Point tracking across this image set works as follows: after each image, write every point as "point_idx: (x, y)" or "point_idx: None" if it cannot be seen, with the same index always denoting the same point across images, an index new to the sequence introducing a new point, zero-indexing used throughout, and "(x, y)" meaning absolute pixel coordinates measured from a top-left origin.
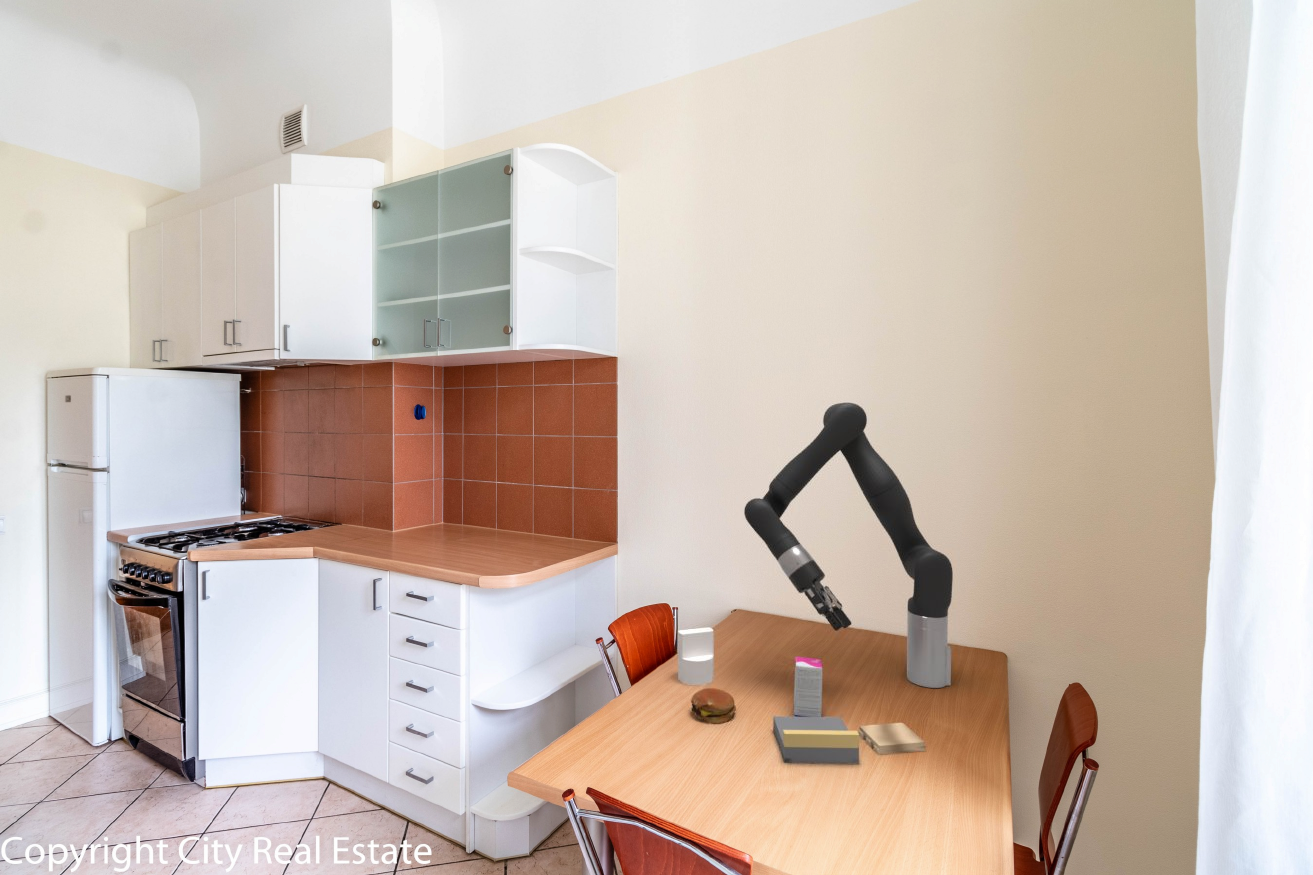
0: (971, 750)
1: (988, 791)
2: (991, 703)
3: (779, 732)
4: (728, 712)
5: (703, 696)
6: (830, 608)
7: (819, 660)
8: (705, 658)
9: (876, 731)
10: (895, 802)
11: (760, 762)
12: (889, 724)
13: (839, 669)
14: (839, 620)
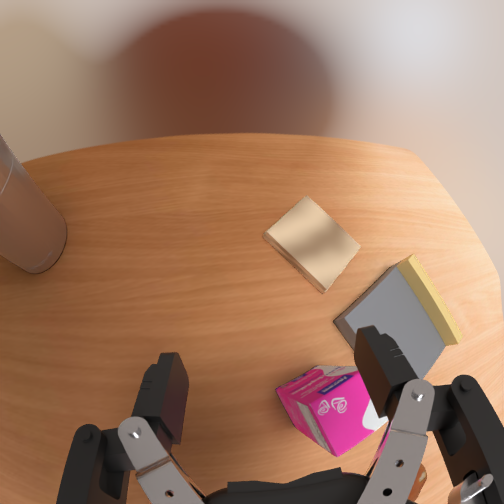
0: (259, 155)
1: (336, 145)
2: (92, 151)
3: (431, 365)
4: None
5: (416, 492)
6: (432, 386)
7: (324, 400)
8: None
9: (325, 260)
10: (415, 217)
11: (447, 361)
12: (287, 248)
13: (65, 403)
14: (383, 340)
